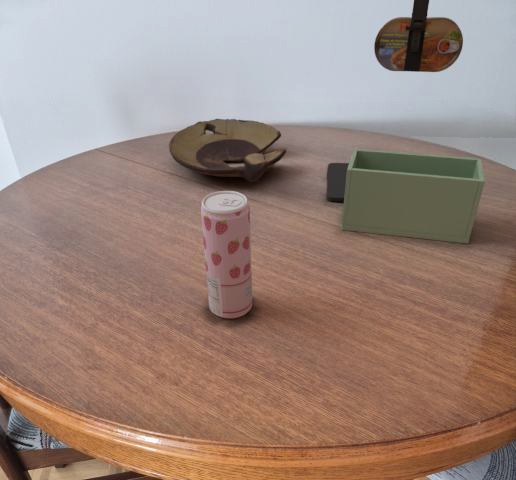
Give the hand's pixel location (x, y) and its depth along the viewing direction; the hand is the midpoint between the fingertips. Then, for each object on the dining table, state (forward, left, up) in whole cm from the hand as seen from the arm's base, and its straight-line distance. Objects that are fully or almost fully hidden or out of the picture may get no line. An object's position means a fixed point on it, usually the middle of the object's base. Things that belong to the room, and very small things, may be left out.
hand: (411, 68), depth 99 cm
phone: (+8, +16, -16) cm, 24 cm away
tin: (0, 0, 0) cm, 1 cm away
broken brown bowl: (+31, +15, -16) cm, 38 cm away
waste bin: (-3, +29, -16) cm, 33 cm away
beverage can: (+18, +57, -16) cm, 62 cm away
